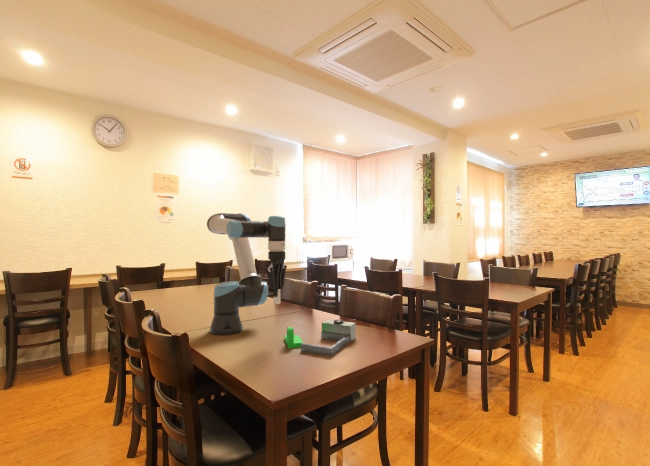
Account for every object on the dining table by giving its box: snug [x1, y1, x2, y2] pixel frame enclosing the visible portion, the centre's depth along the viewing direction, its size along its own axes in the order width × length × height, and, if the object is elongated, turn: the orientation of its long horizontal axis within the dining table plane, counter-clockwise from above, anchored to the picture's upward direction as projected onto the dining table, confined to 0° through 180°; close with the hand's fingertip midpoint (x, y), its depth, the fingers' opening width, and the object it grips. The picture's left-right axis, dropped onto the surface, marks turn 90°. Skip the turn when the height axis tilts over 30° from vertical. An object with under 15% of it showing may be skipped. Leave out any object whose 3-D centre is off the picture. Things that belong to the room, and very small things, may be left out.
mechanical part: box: [284, 326, 304, 349], centre depth 147 cm, size 12×6×8 cm, turn 16°
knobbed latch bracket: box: [300, 319, 357, 357], centre depth 144 cm, size 14×25×8 cm, turn 154°
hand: (277, 303), depth 151 cm, fingers closed
